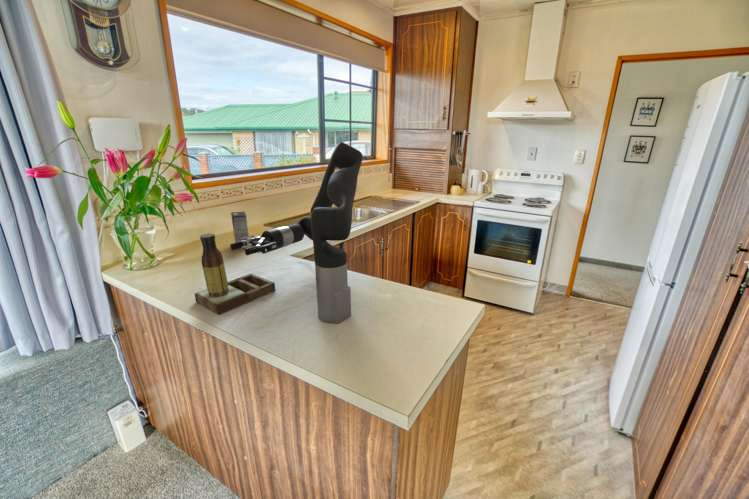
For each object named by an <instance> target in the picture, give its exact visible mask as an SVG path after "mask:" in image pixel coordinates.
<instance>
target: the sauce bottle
mask: <svg viewBox="0 0 749 499" xmlns="http://www.w3.org/2000/svg"><path fill="white" fill-rule="evenodd" d="M199 238H200V242H201V245H202V256H201V266H202V270H203V277H204V280H205V286H206V289H207V291H208V292H209V295H210V296H214V297H218V296H222V295H225V294H226V293H228V291H229V289H228V282H229V281H228V278H227V272H226V267H225V261H224V260H223V258H224V257H223V255H222V253H221V251H220V250H219V249H218V247H217V244H216V235H215V233H205V234H202V235H200V237H199Z"/></svg>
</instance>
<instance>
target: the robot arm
mask: <svg viewBox="0 0 749 499" xmlns="http://www.w3.org/2000/svg"><path fill="white" fill-rule="evenodd" d="M363 157H364V156H363V153H362V151H360V150H359V149H358V148H355V147H353V146H351V145H349V144H347V143H345V142H343V141H339V142H338V143H337V144H336V146H335V147H334V149H333V151H332V154H331V155H330V158H329V162H328V164H327V166H326V169H325V172H324V175H323V178H322V181H321V184H320V188H319V189H318V192H317V195H316V196H315V199H314V201H313V203H312V206H311V208H310V213H311V214H310V216H304V217H301V218H300V219H299V220H297V221H296V222H294V223H292V224H289V225H286V226H285V225H284V226H278V227H276V228H275V227H274V228H271V229H267V230H264V231H263V232H262V233H261V236H255V235H249V237H245V238H241V239H238V241H239V242H235V241H234V242H232V243H230V245H229V246H230V250H232V251H235V250H240V249H239V248H242V249H244V254H245V255H246V256H250V255H253V254H254V255H255V254H256V253H257V254H262V255H263V254H267V253H269V252H272V251H276V250H279V249H282V248H285V247H288V246H291V245H292V244H295V243H299V242H300V241H302V240H304V237H305V236H306V237H307V238H308V239H310V240H311V241H312V245H313V257H314V268H315V269H314V270H315V286H316V288H315V289H316V301H317V315H318V316H317V317H318V318H319V320H321V321H322V322H325V323H335V324H339V323H341V322H343V321H344V320H346V319H347V318H349V317H350V316H352V300H351V298H352V297H351V290H352V289H351V287H350V286H349V282H348V255H347V252H346V251H345V250H343V249H342V248H339V247H337V246H334V245H333V244H331V243H330V242H328V241H335V242H336V241H337V242H338V241H345V240H347V239H348V238H349V236H350V234H351V231H352V224H353V223H352V221H353V207H354V201H355V196H356V191H357V187H358V186H357V185H358V177H359V173H360V169H361V166H362V163H363ZM336 168H337V170H336ZM335 170H336V171H335ZM333 205H334V206H335V207H334V206H333ZM244 242H245V243H244ZM243 247H247V248H243Z"/></svg>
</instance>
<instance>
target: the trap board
mask: <svg viewBox="0 0 749 499" xmlns="http://www.w3.org/2000/svg"><path fill="white" fill-rule="evenodd" d="M227 282H228V289H229V291H228V293H226V294H225V295H222V296H218V297H214V296H210V295H209V292H208V291H207V288H206V289H204V290H200V291H198V292H196V293H194V298H195V303H196V304H197V303H198V304H199V305H201V306H202V307H204V308H206V309H208V310H210V311H212V312H213V313H215V314H216V315H218V316H220V315H222V314H225V313H227V312H229V311H232V310H234V309H237V308H238V307H241V306H243V305H246V304H248V303H249V302H253V301H255V300H257V299H259V298H262V297H264V296H266V295H270V294H271V293H274V292H276V283H275V282H273V281H271V280H269V279H265V278H263V277H260V276H258V275H256V274H253V273H249V274H246V275H243V276H240V277H237V278H235V279H231V280H229V281H227Z"/></svg>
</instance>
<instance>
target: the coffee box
mask: <svg viewBox="0 0 749 499" xmlns="http://www.w3.org/2000/svg"><path fill="white" fill-rule="evenodd" d="M230 217H231V222H232V229H233V230H232V232H233V236H234V243H235V242H239V241H238V239H241V238H245V237H249V236H250V235H249V229H248V220H247V214H246V211H233V212H230ZM244 243H245V242H244ZM246 248H247V247H243V248H239V249H238V250H242V249H246Z"/></svg>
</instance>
